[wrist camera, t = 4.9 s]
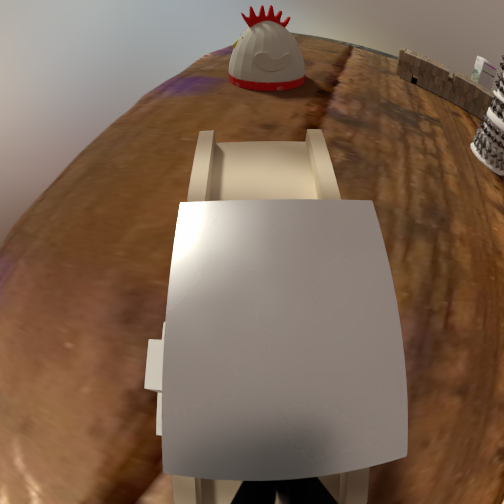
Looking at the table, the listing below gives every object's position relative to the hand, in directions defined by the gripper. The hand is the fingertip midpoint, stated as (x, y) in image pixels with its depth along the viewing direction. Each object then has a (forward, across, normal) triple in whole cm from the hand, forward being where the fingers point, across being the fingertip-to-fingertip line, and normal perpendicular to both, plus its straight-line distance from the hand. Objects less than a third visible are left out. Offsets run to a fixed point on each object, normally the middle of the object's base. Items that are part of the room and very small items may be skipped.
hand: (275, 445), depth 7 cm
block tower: (+48, -48, -34) cm, 76 cm away
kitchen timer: (+44, -2, -30) cm, 53 cm away
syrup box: (+55, -68, -42) cm, 97 cm away
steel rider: (+5, 0, 0) cm, 5 cm away
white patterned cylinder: (+29, -40, -16) cm, 52 cm away
